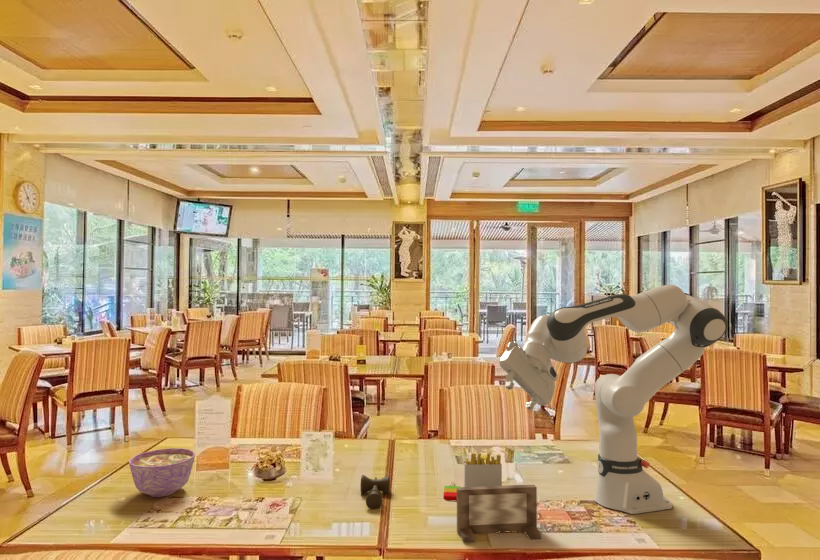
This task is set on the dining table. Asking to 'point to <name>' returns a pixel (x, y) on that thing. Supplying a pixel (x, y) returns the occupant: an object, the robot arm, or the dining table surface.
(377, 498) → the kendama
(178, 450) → the bowl of food
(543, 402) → the robot arm
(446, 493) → the popsicle
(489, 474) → the french fries container
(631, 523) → the dining table surface
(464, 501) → the menu board
